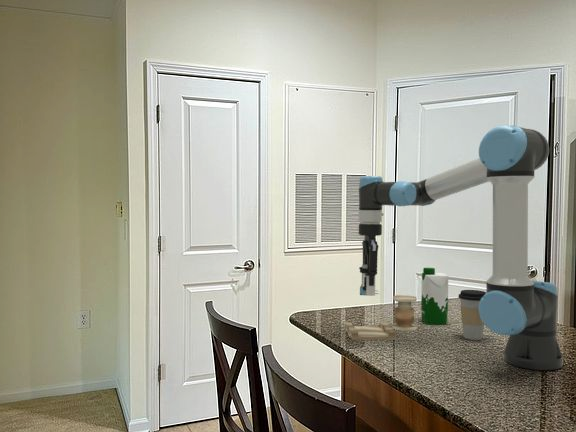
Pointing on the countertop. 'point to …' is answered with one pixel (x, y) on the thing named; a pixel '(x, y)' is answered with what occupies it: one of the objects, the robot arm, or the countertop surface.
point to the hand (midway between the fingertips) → (369, 294)
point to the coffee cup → (471, 314)
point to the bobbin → (404, 313)
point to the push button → (364, 279)
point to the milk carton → (434, 297)
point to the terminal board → (370, 332)
